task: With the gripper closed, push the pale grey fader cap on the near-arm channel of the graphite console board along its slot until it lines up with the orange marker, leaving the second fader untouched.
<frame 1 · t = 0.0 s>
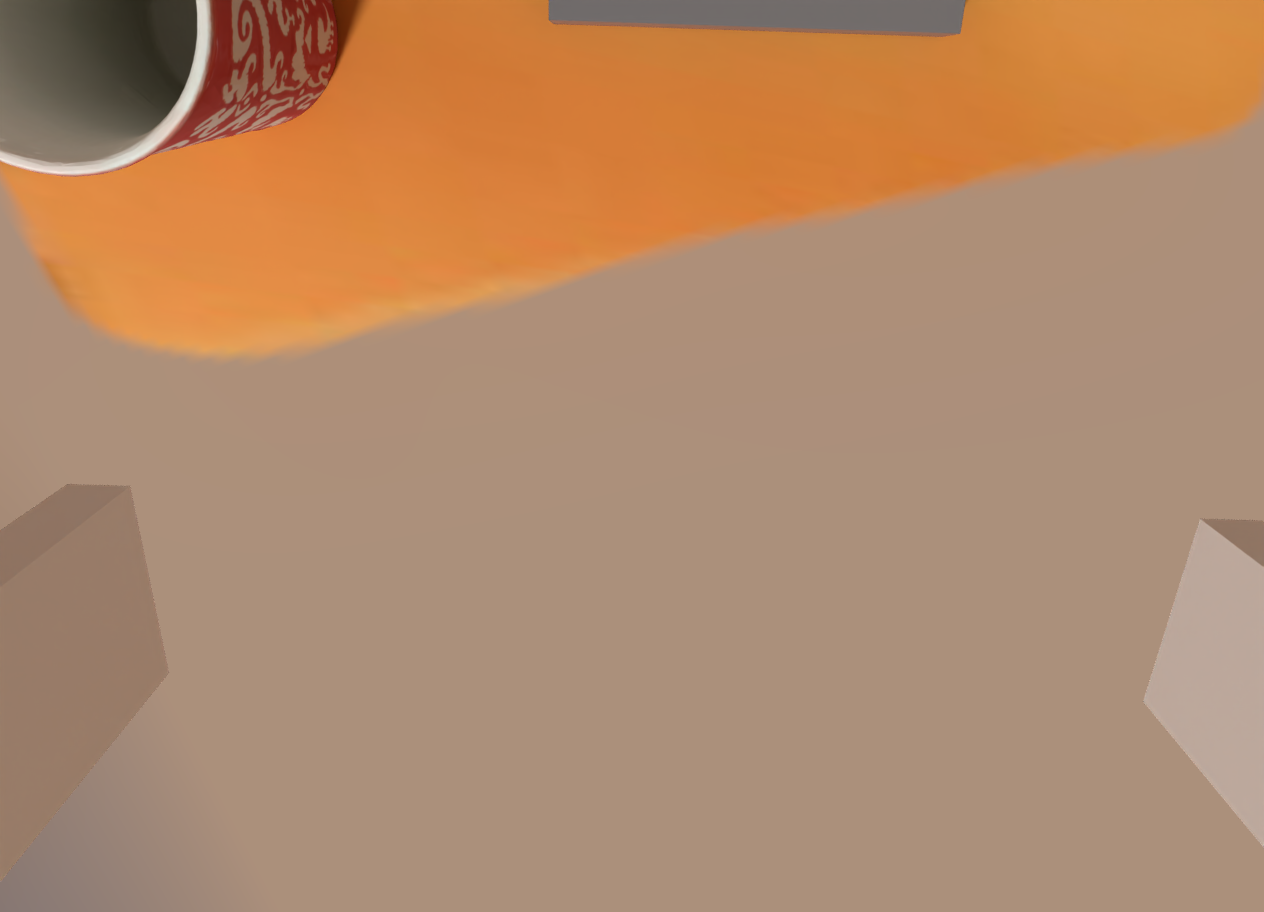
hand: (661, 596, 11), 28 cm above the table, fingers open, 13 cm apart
mug: (209, 41, 34), on the table
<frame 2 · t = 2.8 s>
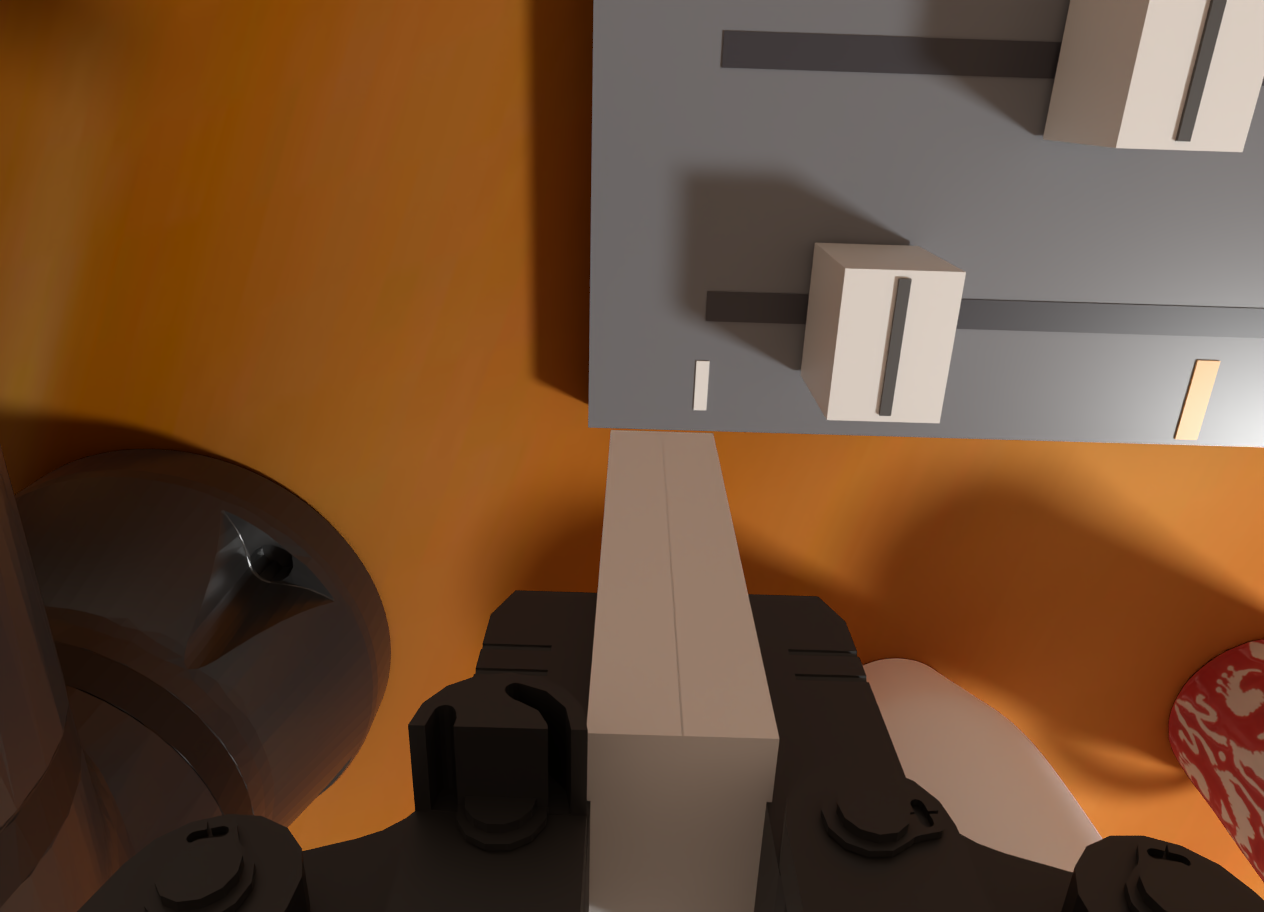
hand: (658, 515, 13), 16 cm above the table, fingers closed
mug: (1257, 741, 35), on the table
fader b: (1155, 59, 22), point 4 cm above the table, slide at 9.0 cm
mug 2: (861, 730, 35), on the table
fader a: (874, 329, 24), point 4 cm above the table, slide at 3.0 cm
console: (1017, 188, 27), on the table
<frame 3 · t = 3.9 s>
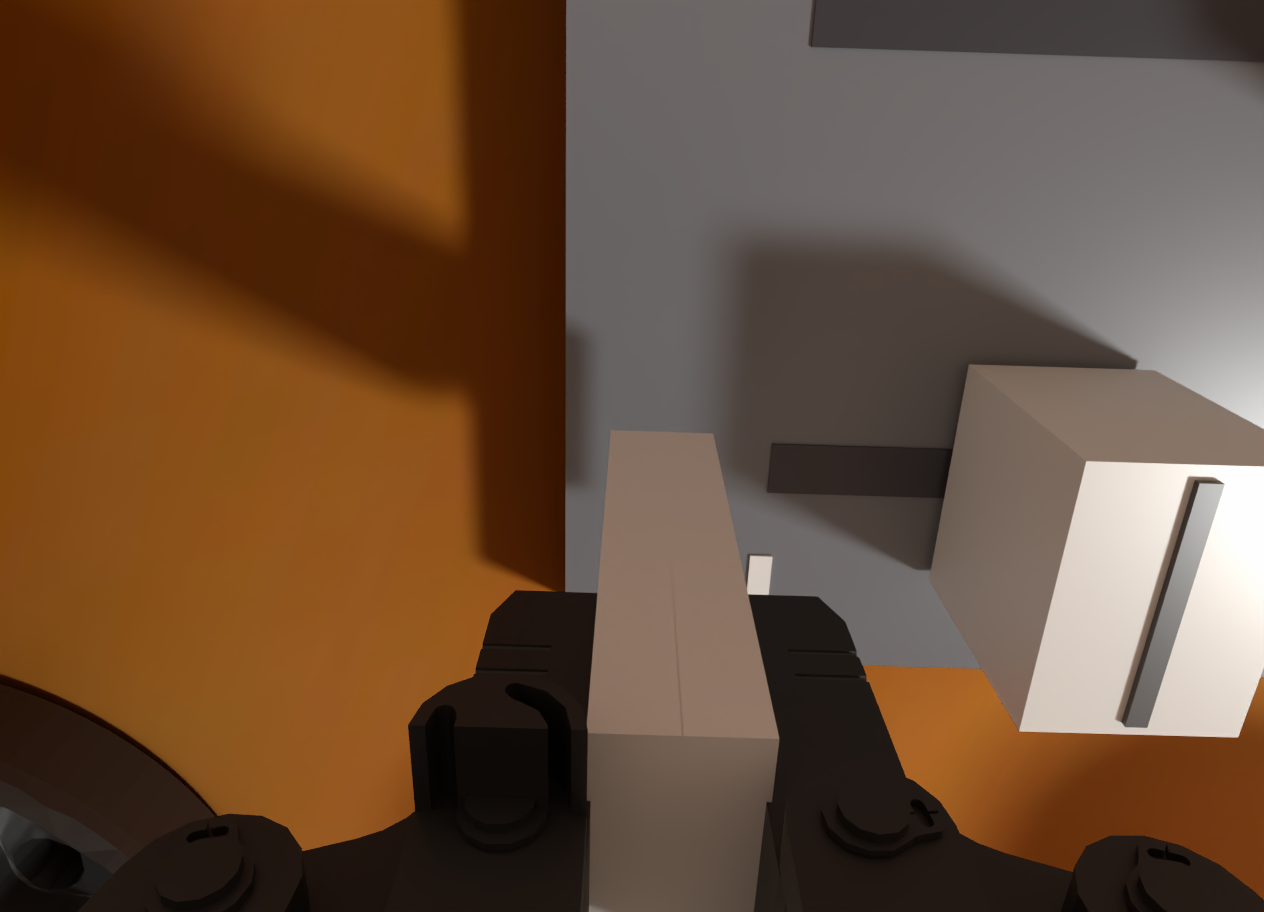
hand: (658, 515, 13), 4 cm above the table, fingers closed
fader a: (1094, 537, 13), point 4 cm above the table, slide at 3.0 cm
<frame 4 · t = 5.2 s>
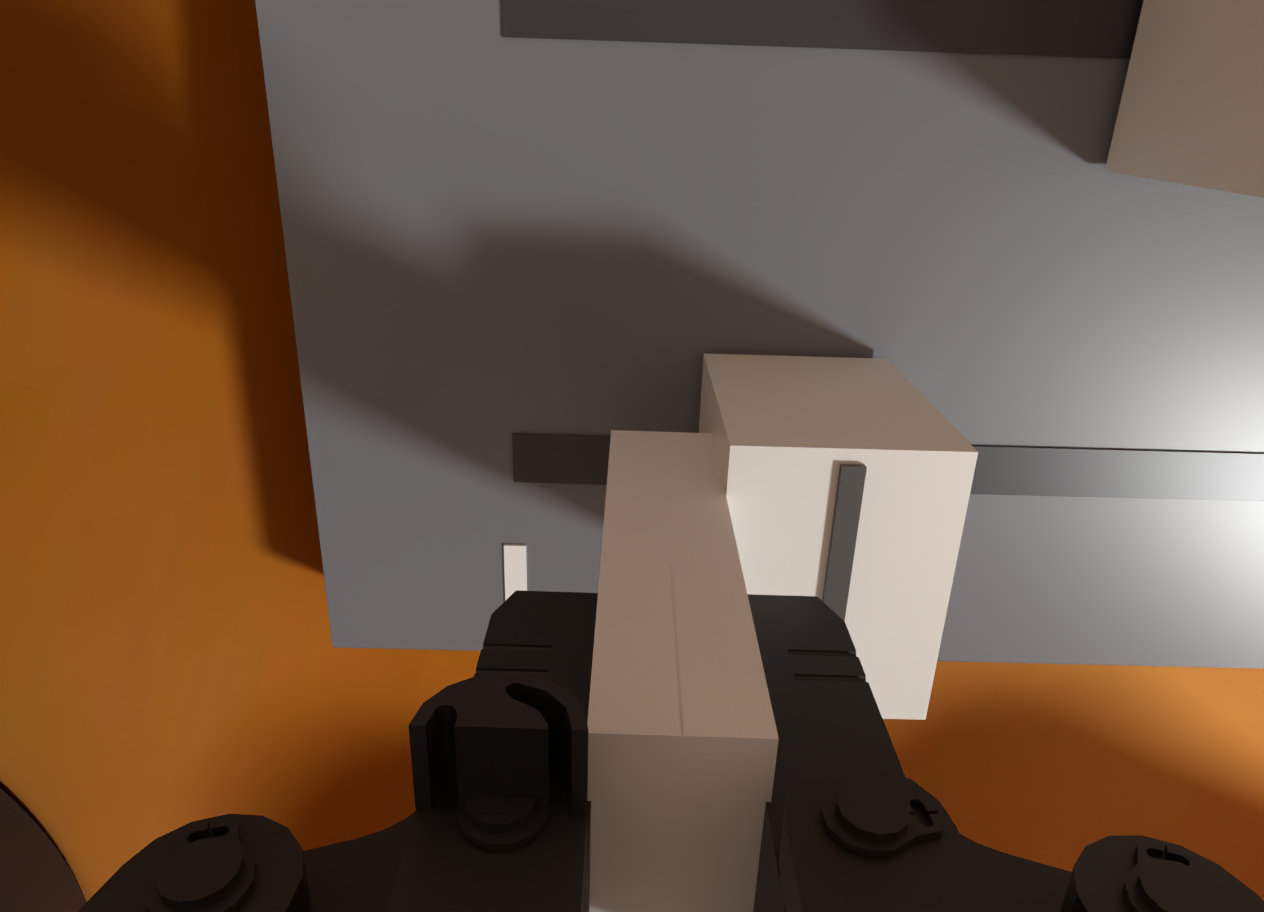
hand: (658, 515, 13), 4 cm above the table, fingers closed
fader a: (806, 523, 13), point 4 cm above the table, slide at 3.2 cm, touching gripper
console: (1051, 249, 16), on the table
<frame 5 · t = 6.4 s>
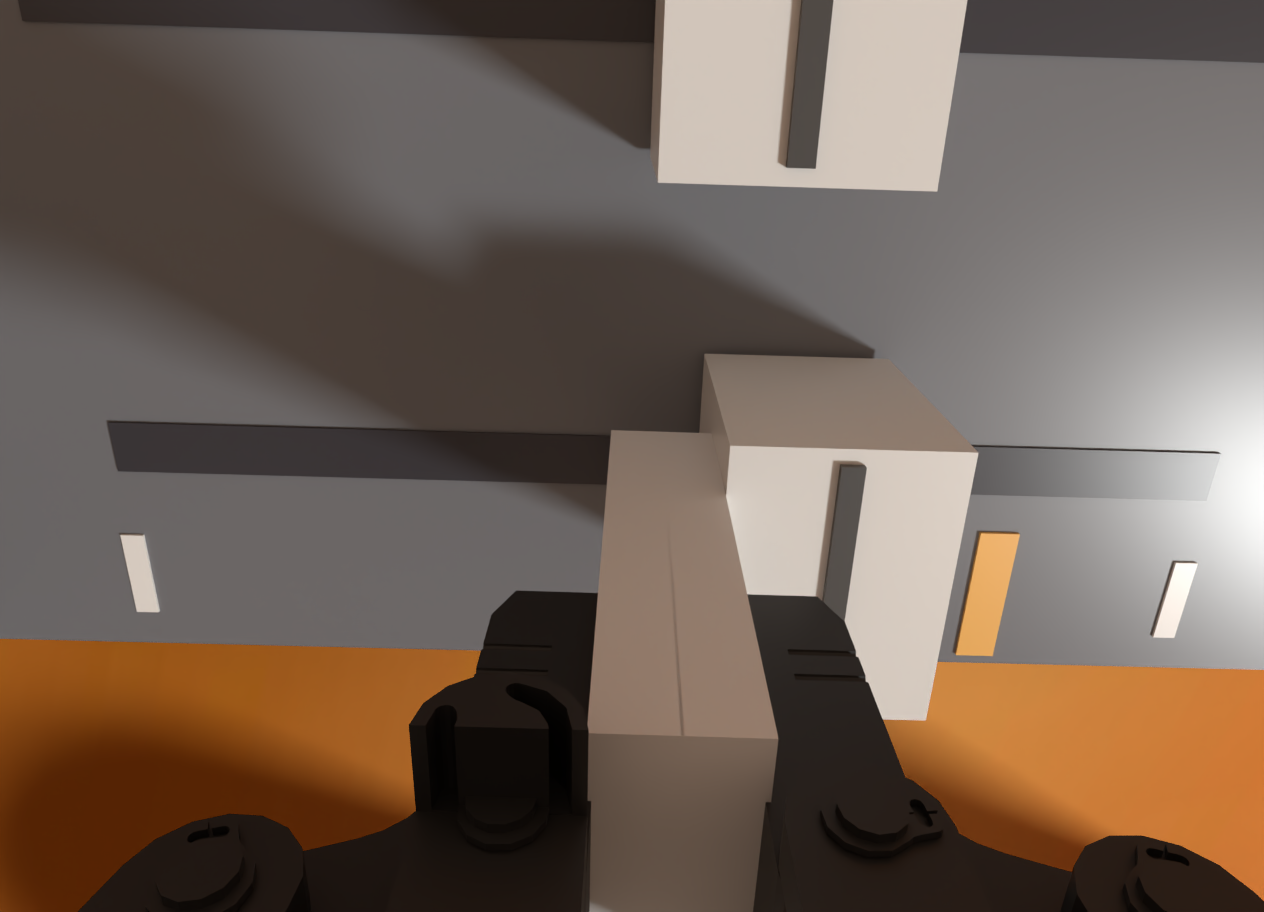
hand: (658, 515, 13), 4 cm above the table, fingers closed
fader a: (806, 523, 13), point 4 cm above the table, slide at 10.0 cm, touching gripper
console: (672, 237, 16), on the table
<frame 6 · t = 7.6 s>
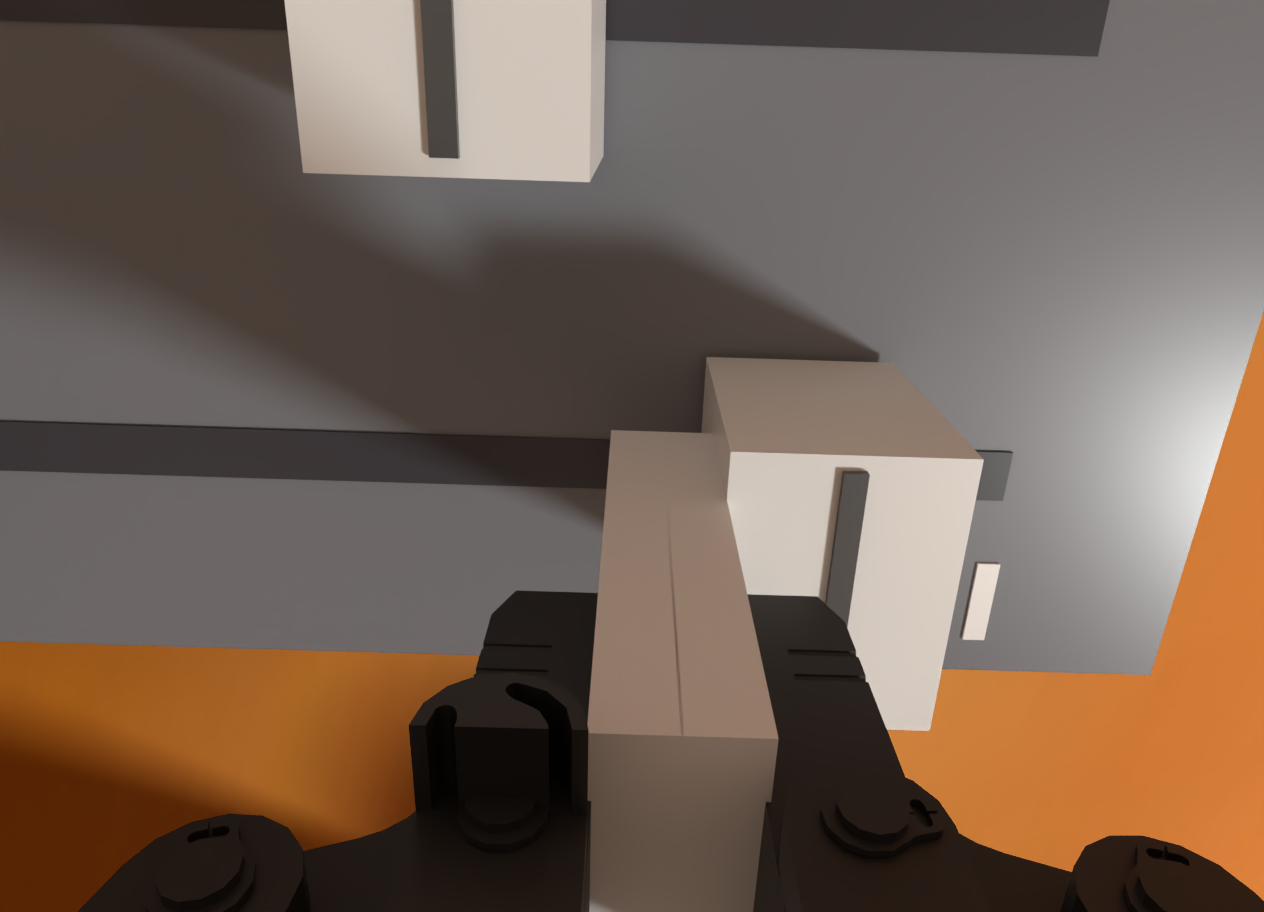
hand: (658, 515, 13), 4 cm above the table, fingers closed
fader a: (809, 530, 13), point 4 cm above the table, slide at 13.7 cm, touching gripper
console: (464, 232, 15), on the table
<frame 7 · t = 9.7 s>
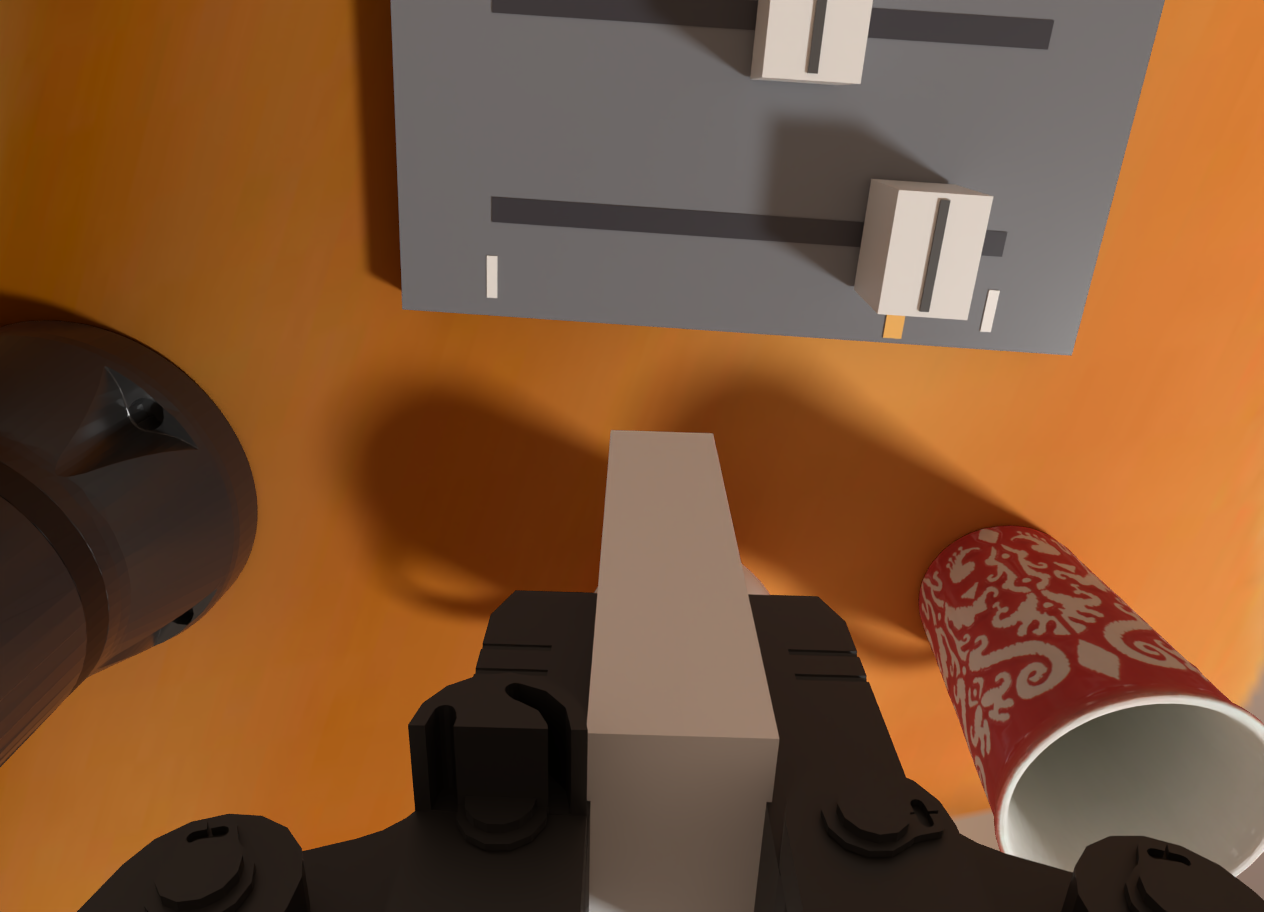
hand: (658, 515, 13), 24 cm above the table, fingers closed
mug: (999, 621, 41), on the table
fader b: (810, 12, 28), point 4 cm above the table, slide at 9.0 cm
mug 2: (659, 597, 41), on the table
fader a: (917, 247, 30), point 4 cm above the table, slide at 13.7 cm
console: (753, 124, 33), on the table
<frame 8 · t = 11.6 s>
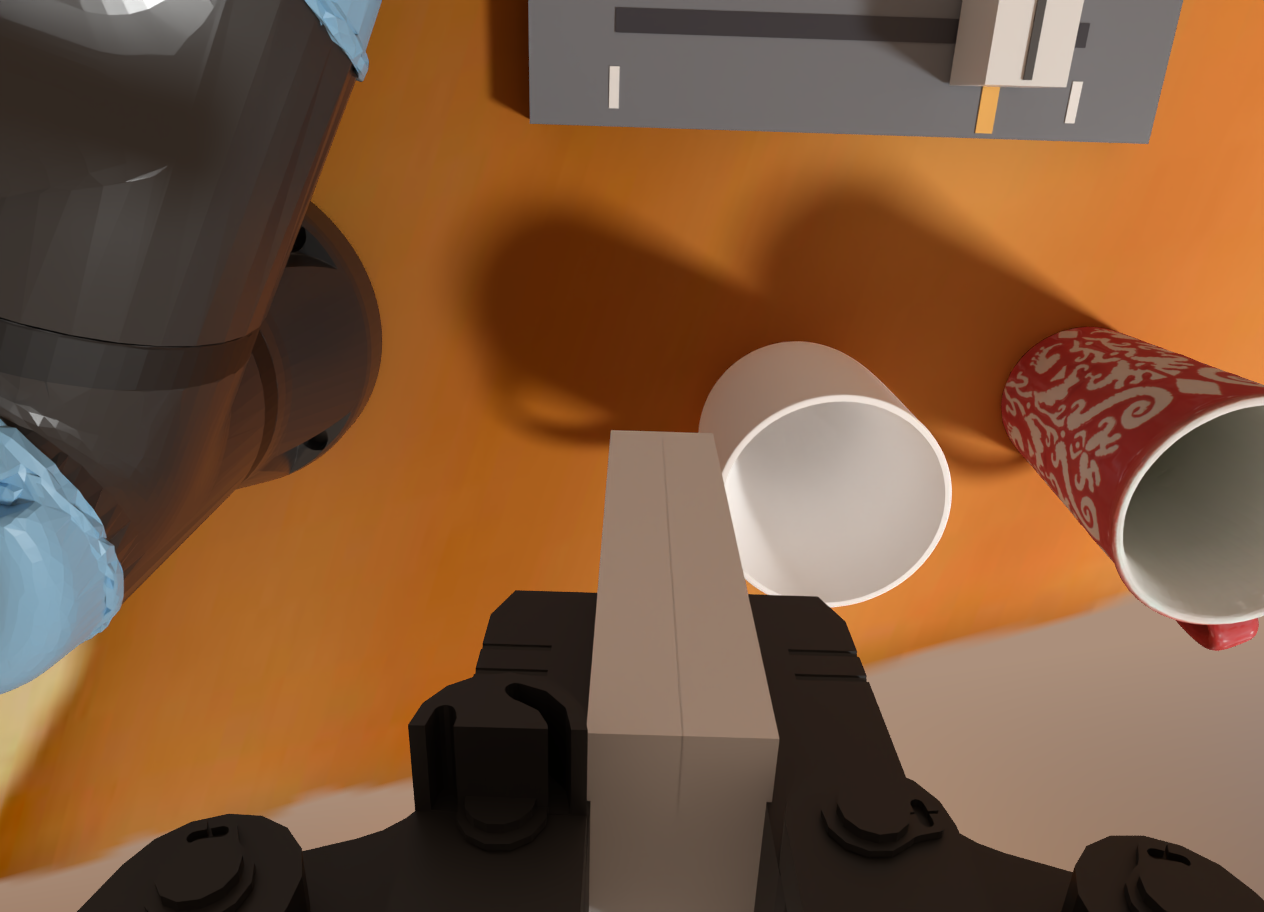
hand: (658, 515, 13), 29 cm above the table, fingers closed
mug: (1075, 426, 44), on the table
mug 2: (757, 416, 44), on the table
fader a: (1015, 28, 33), point 4 cm above the table, slide at 13.7 cm
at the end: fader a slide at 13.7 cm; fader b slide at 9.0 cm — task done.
